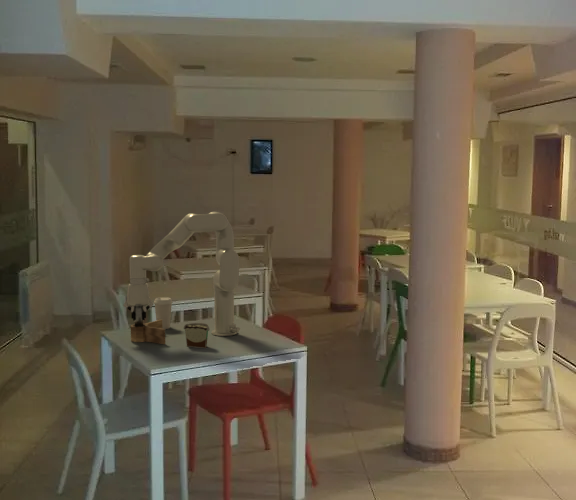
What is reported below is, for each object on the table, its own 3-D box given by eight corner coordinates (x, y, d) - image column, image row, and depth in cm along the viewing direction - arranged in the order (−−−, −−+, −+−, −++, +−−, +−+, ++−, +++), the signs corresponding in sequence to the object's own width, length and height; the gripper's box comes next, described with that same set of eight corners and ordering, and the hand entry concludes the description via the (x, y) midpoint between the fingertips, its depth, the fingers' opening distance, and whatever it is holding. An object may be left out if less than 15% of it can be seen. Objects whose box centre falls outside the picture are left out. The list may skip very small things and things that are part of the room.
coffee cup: (157, 325, 372) (156, 296, 370) (175, 326, 371) (174, 297, 369) (151, 329, 363) (150, 300, 361) (169, 330, 361) (169, 300, 360)
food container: (214, 345, 330) (214, 323, 329) (208, 348, 325) (208, 326, 323) (190, 343, 334) (189, 322, 333) (183, 346, 329) (183, 324, 327)
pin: (146, 325, 341) (146, 303, 339) (139, 327, 336) (138, 304, 335) (138, 324, 343) (138, 301, 342) (131, 326, 339) (130, 303, 338)
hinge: (186, 337, 346) (186, 323, 345) (158, 345, 329) (158, 330, 328) (155, 332, 356) (155, 318, 355) (127, 340, 339) (127, 326, 339)
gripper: (155, 279, 343) (156, 317, 345) (119, 280, 339) (120, 319, 341) (156, 282, 336) (157, 320, 338) (119, 283, 332) (120, 322, 334)
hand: (138, 319), depth 339 cm, fingers closed on pin, 4 cm apart
